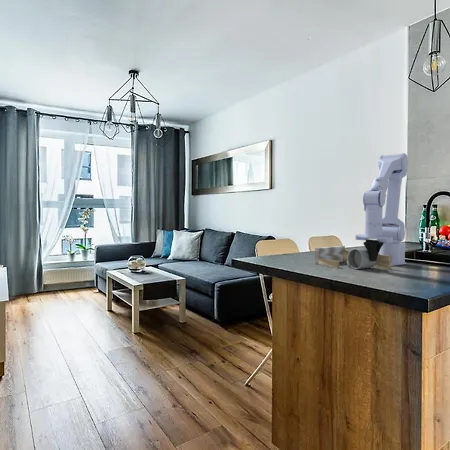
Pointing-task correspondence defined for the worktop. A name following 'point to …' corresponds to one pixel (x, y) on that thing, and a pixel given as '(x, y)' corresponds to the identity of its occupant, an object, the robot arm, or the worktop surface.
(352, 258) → the ceramic mug
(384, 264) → the brown wooden pieces
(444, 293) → the worktop surface
